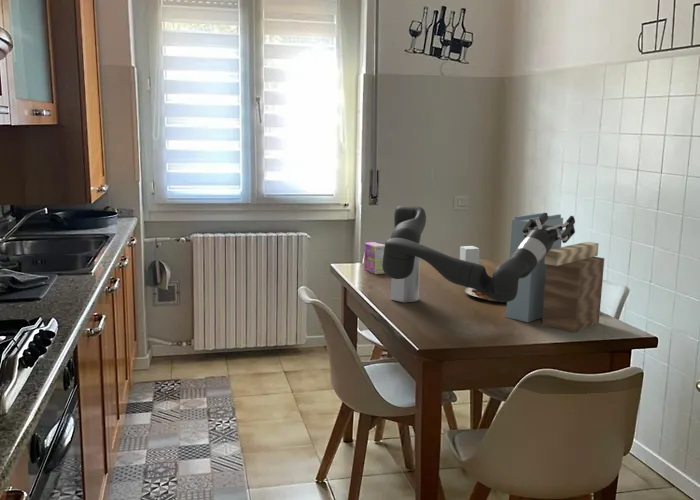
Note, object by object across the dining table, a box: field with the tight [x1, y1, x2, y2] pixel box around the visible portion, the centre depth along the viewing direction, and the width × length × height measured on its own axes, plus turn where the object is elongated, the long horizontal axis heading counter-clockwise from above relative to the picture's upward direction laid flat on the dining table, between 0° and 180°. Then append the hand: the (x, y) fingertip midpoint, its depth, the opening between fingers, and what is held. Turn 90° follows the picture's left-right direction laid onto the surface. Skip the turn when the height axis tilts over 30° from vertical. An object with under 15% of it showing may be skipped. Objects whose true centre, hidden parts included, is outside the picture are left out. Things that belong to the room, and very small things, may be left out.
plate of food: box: [464, 287, 498, 303], centre depth 255 cm, size 28×28×6 cm
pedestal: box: [505, 212, 564, 323], centre depth 228 cm, size 18×8×33 cm, turn 135°
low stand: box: [541, 256, 605, 333], centre depth 219 cm, size 16×11×21 cm
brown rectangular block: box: [545, 241, 599, 266], centre depth 215 cm, size 26×4×4 cm, turn 135°
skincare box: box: [459, 245, 481, 264], centre depth 273 cm, size 8×6×15 cm
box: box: [363, 241, 385, 275], centre depth 294 cm, size 10×6×12 cm, turn 25°
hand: (559, 216), depth 208 cm, fingers open, 8 cm apart
